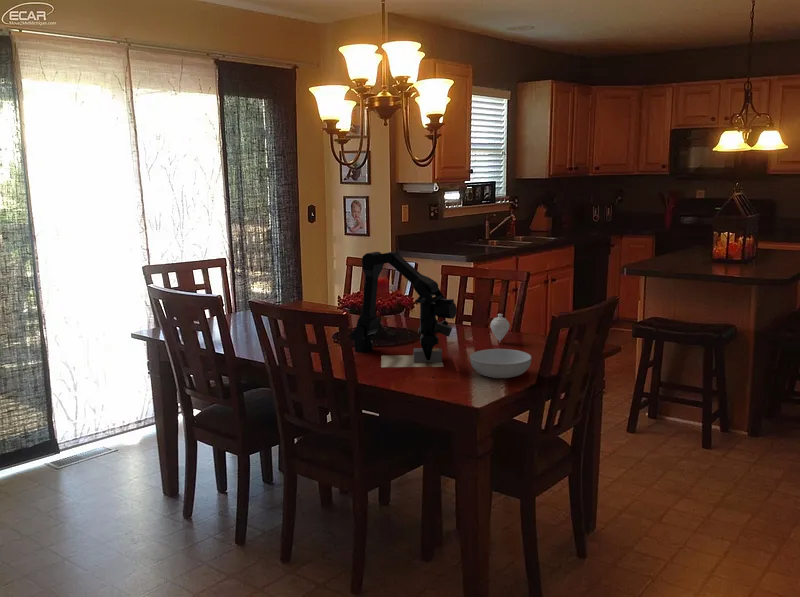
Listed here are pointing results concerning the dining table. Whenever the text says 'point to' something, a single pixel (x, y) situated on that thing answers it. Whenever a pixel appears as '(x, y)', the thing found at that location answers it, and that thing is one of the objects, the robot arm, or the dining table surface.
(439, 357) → the block
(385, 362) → the board
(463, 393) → the dining table surface
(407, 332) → the dining table surface
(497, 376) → the serving bowl
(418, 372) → the dining table surface
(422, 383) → the dining table surface
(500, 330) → the spinning top
